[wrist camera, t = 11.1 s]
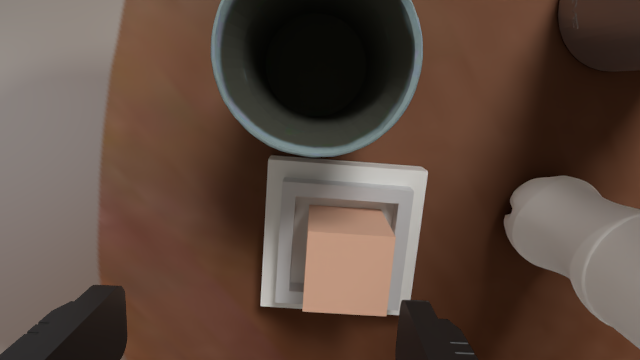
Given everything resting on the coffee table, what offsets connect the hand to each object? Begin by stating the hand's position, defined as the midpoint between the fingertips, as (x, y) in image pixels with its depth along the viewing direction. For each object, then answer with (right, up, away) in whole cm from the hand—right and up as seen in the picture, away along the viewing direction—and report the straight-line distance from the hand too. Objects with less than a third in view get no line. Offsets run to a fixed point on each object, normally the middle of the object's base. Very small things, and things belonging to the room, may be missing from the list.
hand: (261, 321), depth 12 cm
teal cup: (+1, +13, +20) cm, 23 cm away
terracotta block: (+3, -1, +20) cm, 21 cm away
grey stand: (+3, 0, +22) cm, 23 cm away
